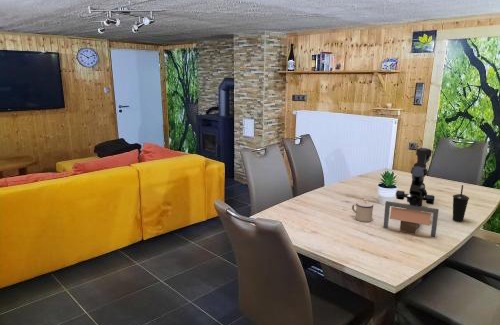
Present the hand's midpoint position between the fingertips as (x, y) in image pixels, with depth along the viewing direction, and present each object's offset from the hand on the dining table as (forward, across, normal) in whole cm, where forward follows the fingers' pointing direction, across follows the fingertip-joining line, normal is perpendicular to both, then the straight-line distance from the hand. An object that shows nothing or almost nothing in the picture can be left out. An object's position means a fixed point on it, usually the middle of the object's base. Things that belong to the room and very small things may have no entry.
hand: (412, 211), depth 187 cm
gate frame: (+14, 0, -5) cm, 15 cm away
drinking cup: (-6, +22, +16) cm, 28 cm away
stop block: (+10, 0, 0) cm, 10 cm away
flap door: (+11, 0, -11) cm, 16 cm away
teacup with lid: (+10, -25, 0) cm, 27 cm away
